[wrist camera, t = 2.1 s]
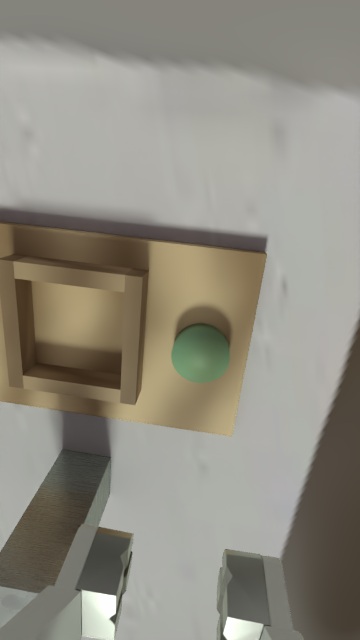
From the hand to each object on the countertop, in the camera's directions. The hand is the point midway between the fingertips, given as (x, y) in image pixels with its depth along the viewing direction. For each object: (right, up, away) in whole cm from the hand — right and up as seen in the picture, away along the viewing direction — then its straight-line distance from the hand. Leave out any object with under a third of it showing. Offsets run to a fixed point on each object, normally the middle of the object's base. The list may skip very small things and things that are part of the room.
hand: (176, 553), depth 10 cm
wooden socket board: (-4, +6, +13) cm, 15 cm away
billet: (-8, -6, +18) cm, 21 cm away
